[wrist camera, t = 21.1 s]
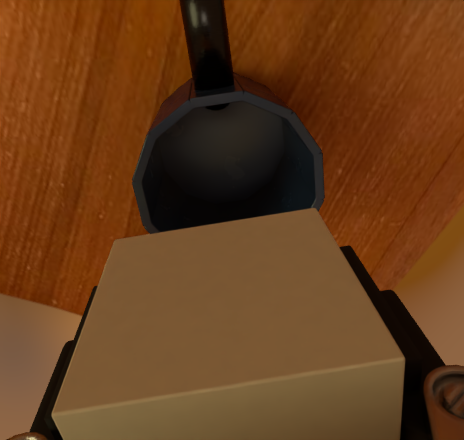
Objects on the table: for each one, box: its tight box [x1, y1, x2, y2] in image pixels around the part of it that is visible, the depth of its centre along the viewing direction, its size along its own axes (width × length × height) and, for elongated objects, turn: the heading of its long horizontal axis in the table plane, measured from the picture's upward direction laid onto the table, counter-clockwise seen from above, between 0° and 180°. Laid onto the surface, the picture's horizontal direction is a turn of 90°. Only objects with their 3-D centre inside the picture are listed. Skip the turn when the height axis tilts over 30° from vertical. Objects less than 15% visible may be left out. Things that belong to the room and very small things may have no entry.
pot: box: [132, 0, 325, 234], centre depth 25 cm, size 10×10×18 cm
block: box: [52, 208, 405, 440], centre depth 9 cm, size 5×5×5 cm
